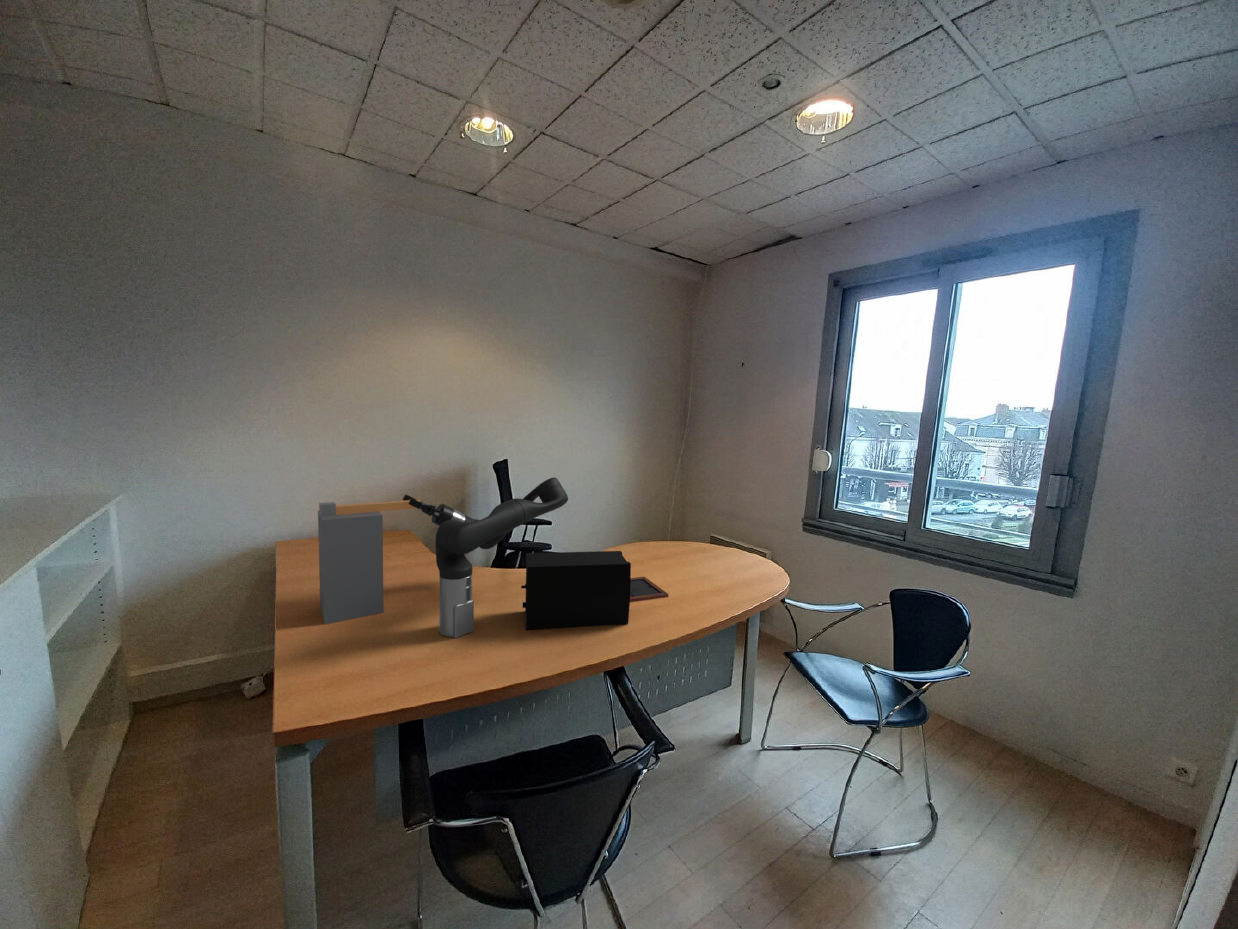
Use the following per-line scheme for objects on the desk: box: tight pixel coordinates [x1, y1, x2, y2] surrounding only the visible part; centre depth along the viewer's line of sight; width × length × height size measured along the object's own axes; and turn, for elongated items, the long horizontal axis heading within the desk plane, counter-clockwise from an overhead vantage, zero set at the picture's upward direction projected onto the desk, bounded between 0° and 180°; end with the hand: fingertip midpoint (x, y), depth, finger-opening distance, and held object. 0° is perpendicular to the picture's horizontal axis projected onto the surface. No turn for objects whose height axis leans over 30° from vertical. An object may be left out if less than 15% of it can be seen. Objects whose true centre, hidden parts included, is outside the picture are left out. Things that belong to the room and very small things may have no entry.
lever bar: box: [318, 498, 422, 516], centre depth 147 cm, size 29×4×4 cm, turn 127°
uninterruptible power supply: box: [520, 550, 632, 632], centre depth 146 cm, size 16×34×20 cm, turn 102°
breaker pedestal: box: [317, 509, 385, 625], centre depth 145 cm, size 16×16×32 cm
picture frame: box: [630, 576, 669, 603], centre depth 172 cm, size 20×2×25 cm
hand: (406, 499), depth 153 cm, fingers open, 8 cm apart
